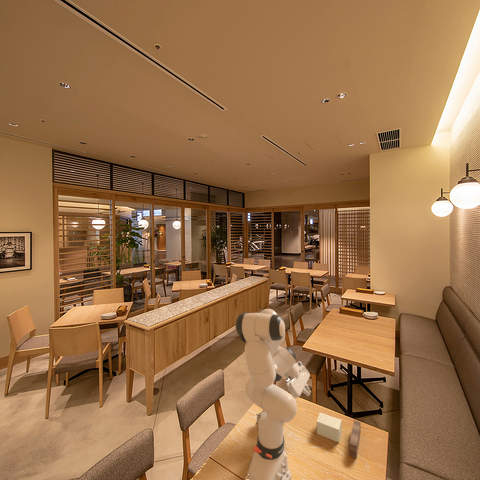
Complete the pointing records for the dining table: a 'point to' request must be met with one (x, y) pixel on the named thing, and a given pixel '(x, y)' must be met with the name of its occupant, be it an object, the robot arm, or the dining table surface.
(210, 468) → the dining table surface
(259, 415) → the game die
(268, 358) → the robot arm
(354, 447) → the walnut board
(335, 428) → the cream rectangular block
